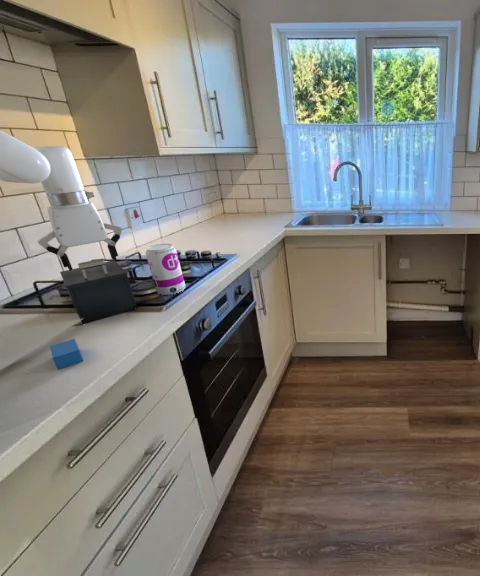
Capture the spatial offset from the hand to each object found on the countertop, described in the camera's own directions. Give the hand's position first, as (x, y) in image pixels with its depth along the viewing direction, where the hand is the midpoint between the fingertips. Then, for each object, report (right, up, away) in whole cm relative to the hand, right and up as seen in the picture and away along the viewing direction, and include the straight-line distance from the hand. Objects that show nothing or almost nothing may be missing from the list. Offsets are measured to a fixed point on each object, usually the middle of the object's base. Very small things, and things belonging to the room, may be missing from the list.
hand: (93, 264), depth 96 cm
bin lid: (-4, -3, +5) cm, 7 cm away
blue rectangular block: (+6, -23, -14) cm, 27 cm away
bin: (-4, -12, +10) cm, 16 cm away
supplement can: (+9, -8, +21) cm, 24 cm away
